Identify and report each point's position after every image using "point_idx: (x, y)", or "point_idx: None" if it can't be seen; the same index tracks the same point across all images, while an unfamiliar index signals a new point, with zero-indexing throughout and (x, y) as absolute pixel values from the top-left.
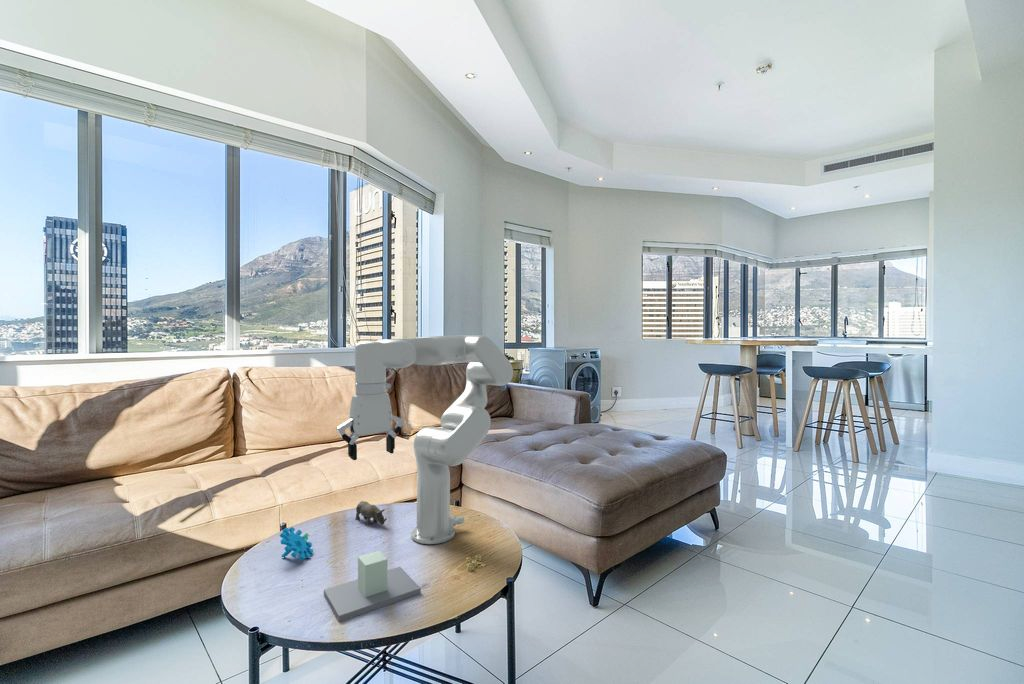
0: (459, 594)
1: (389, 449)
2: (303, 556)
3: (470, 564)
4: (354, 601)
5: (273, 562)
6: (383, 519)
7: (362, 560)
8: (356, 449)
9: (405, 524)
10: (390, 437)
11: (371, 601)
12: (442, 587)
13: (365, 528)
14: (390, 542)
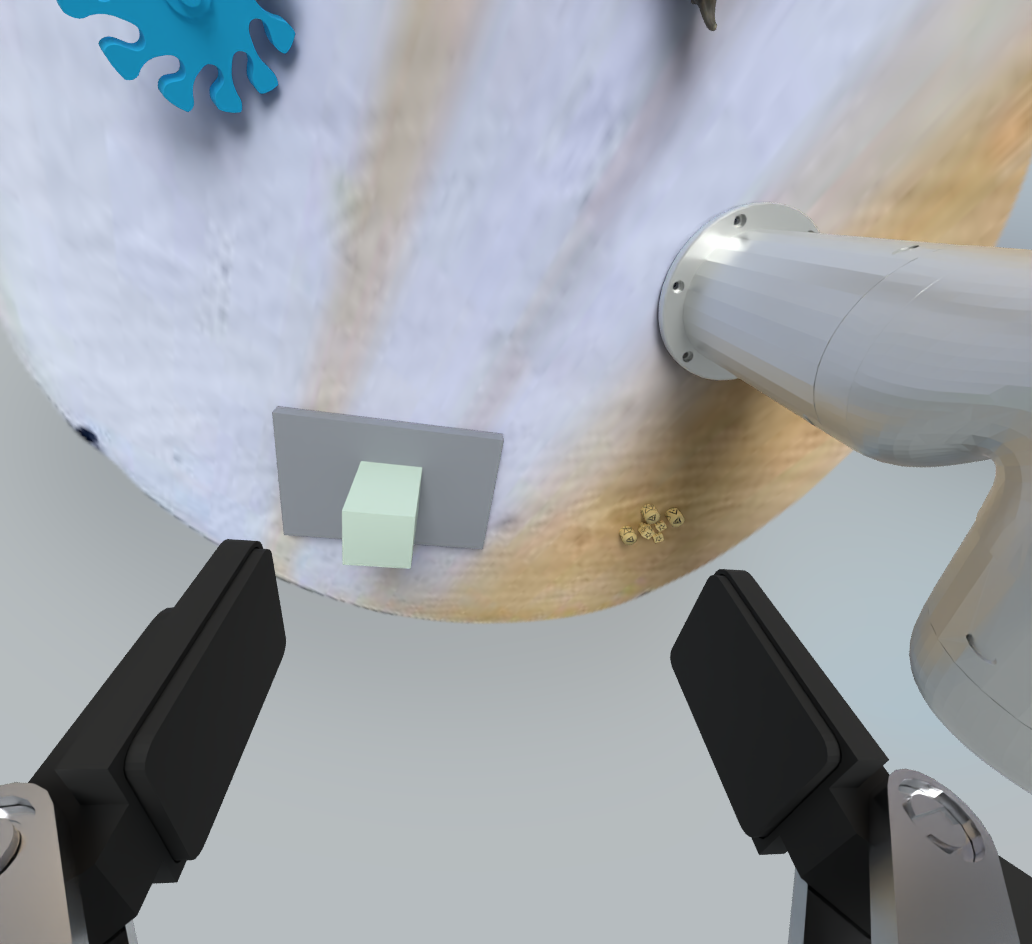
0: (538, 584)
1: (695, 664)
2: (232, 103)
3: (631, 539)
4: (331, 509)
5: None
6: (708, 3)
7: (345, 538)
8: (229, 773)
9: (770, 85)
10: (787, 844)
11: None
12: (531, 549)
13: None
14: (601, 224)
